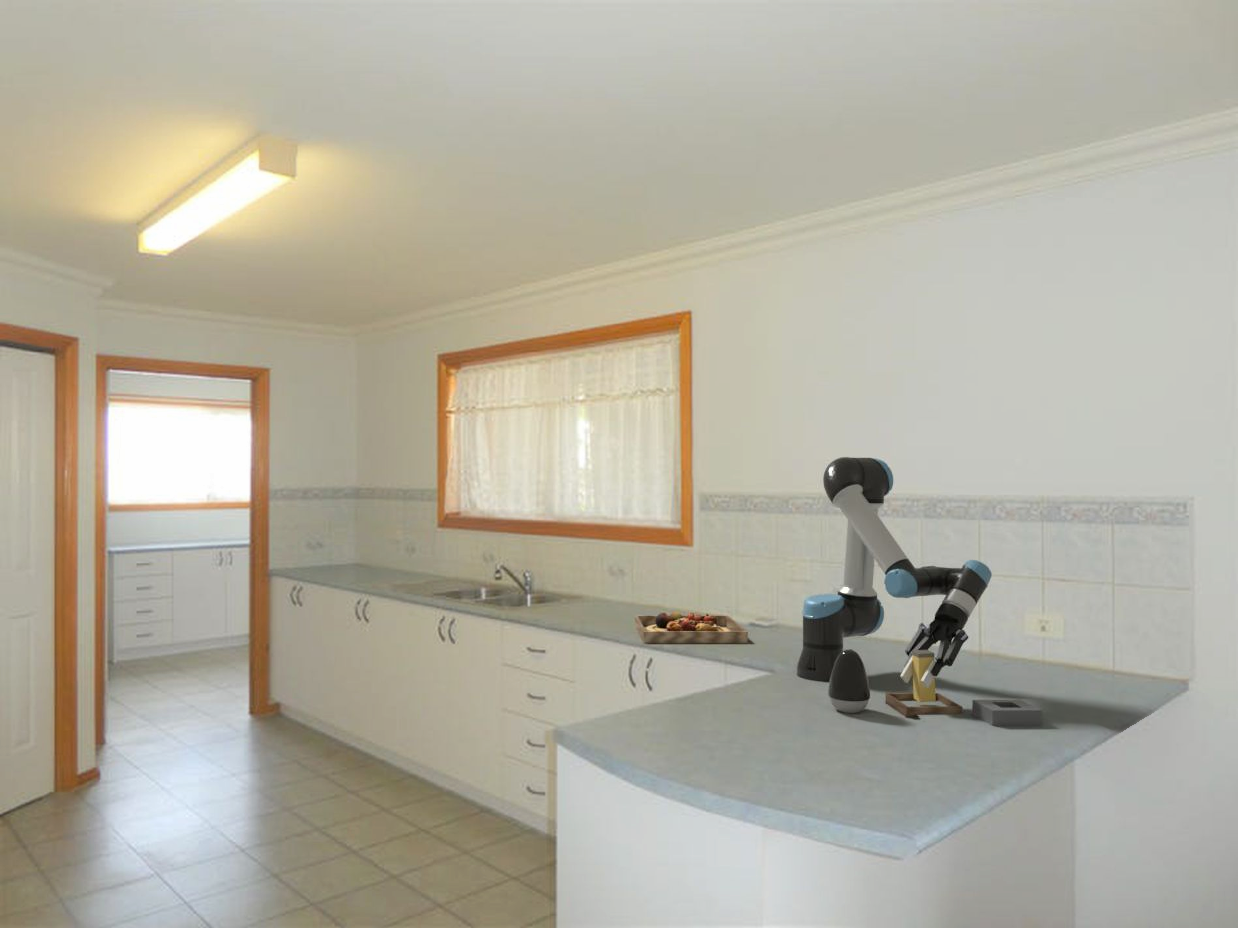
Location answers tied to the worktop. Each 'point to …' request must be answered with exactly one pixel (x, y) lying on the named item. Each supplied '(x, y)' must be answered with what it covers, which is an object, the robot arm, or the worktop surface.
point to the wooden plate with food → (685, 623)
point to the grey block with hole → (1007, 712)
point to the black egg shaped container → (849, 683)
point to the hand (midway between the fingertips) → (914, 681)
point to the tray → (911, 712)
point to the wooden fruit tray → (691, 632)
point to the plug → (919, 668)
